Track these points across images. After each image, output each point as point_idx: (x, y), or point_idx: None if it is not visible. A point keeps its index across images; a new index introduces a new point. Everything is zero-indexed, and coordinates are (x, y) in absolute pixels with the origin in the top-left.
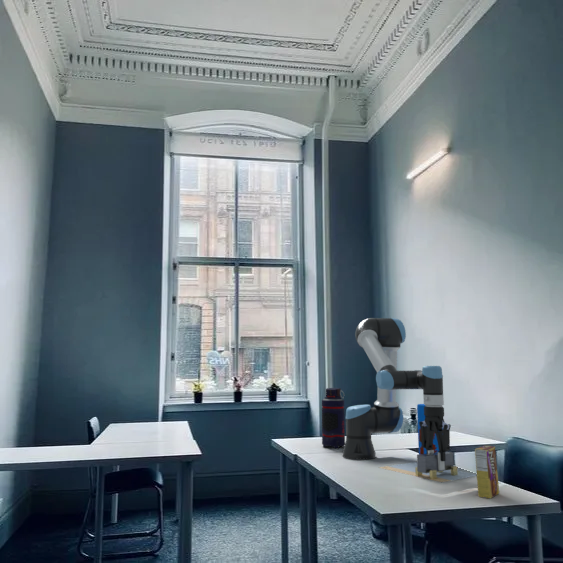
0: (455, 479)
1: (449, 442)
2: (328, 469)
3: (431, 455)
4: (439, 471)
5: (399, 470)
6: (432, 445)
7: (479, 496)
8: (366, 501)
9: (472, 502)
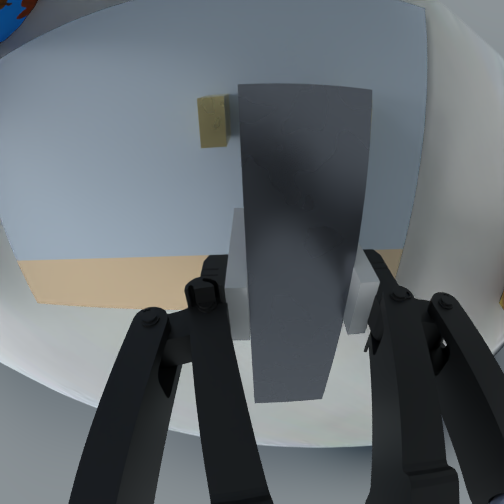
0: (408, 215)
1: (488, 353)
2: (36, 373)
3: (330, 365)
4: (230, 132)
5: (100, 283)
6: (229, 328)
7: (501, 303)
8: (328, 446)
9: (489, 341)
